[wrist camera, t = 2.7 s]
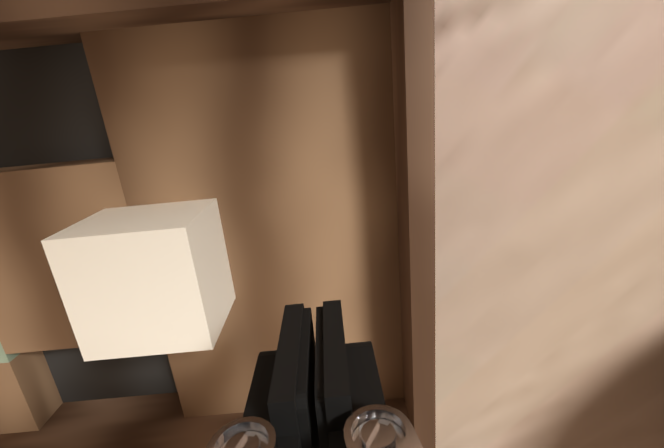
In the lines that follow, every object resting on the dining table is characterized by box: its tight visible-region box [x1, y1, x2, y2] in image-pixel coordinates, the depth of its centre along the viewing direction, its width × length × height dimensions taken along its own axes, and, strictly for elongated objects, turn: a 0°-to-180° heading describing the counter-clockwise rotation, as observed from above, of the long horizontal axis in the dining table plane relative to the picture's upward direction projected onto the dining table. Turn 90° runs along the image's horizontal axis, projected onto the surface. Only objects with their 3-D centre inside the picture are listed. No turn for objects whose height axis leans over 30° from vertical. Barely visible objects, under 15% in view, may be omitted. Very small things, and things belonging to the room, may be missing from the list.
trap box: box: [0, 0, 435, 448], centre depth 18 cm, size 30×21×5 cm
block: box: [41, 198, 236, 361], centre depth 16 cm, size 5×5×4 cm
